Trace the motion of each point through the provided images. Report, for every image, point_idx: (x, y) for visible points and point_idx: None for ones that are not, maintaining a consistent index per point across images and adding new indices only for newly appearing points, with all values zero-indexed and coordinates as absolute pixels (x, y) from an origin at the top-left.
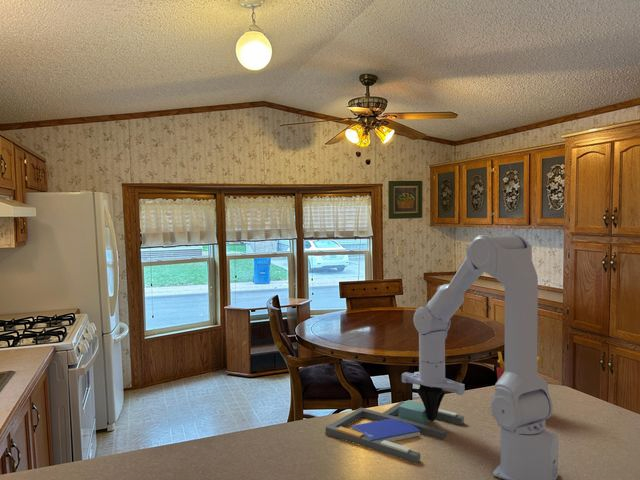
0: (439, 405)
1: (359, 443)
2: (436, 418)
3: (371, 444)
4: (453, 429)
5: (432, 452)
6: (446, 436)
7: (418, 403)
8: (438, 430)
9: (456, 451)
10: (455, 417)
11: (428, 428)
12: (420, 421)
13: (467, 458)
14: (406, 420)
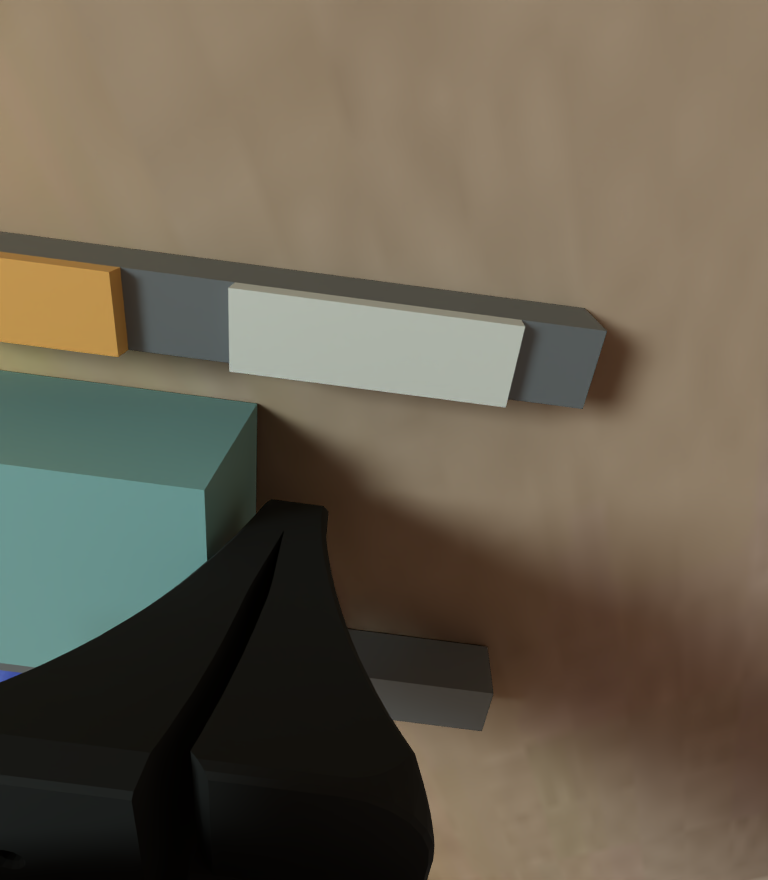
0: (334, 596)
1: None
2: (327, 512)
3: None
4: (506, 498)
5: (452, 808)
6: (487, 658)
7: (29, 503)
8: (430, 711)
9: (585, 764)
10: (509, 396)
11: None
12: None
13: (658, 802)
14: None
